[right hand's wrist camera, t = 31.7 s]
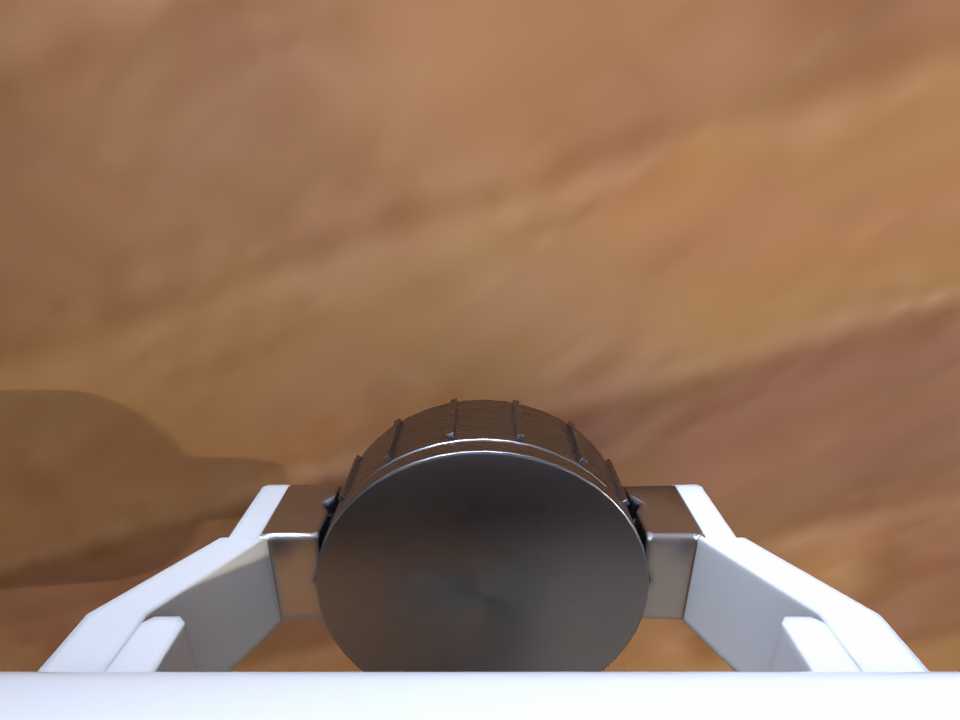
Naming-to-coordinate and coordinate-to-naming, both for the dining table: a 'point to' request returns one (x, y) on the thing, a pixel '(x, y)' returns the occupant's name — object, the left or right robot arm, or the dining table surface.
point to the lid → (482, 548)
